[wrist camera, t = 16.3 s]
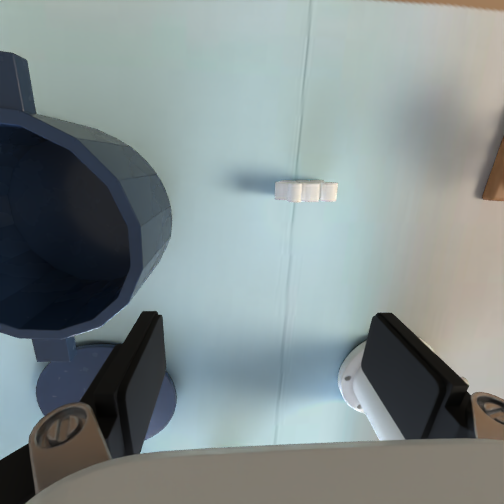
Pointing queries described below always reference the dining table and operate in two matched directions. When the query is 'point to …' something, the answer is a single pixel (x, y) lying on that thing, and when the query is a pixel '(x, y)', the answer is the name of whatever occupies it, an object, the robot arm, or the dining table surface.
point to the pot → (69, 222)
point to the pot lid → (81, 376)
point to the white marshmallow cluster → (306, 190)
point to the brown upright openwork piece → (496, 178)
